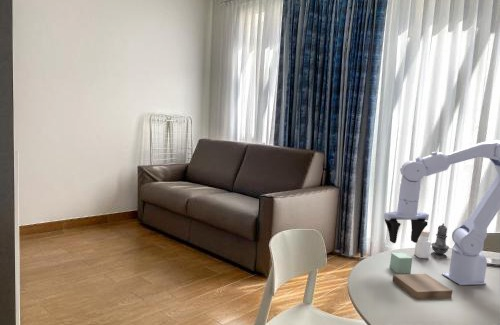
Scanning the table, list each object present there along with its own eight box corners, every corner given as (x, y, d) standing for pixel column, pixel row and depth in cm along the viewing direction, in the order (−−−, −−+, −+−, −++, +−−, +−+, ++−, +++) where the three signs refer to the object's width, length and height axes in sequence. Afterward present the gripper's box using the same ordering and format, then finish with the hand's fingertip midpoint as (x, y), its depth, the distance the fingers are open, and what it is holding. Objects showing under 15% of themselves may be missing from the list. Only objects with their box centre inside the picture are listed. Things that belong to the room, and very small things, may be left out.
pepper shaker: (429, 259, 135) (433, 232, 134) (418, 258, 135) (421, 232, 134) (424, 255, 139) (427, 229, 138) (413, 254, 139) (416, 228, 138)
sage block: (401, 267, 126) (403, 252, 125) (410, 273, 121) (412, 258, 121) (389, 267, 125) (391, 252, 124) (397, 273, 120) (399, 258, 120)
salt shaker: (450, 259, 136) (454, 226, 135) (432, 256, 138) (436, 224, 136) (445, 253, 142) (449, 222, 141) (428, 251, 143) (432, 220, 142)
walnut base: (425, 280, 116) (425, 273, 116) (451, 297, 106) (452, 290, 106) (392, 281, 114) (393, 274, 114) (416, 299, 103) (417, 291, 103)
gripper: (420, 197, 125) (415, 237, 127) (380, 196, 122) (375, 237, 124) (435, 202, 119) (429, 244, 120) (393, 201, 115) (388, 245, 117)
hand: (403, 241), depth 122 cm, fingers open, 7 cm apart
